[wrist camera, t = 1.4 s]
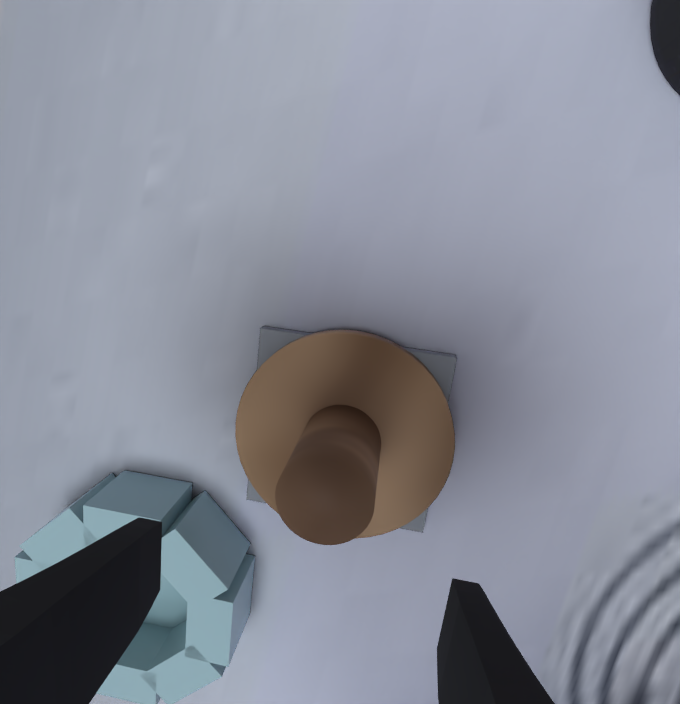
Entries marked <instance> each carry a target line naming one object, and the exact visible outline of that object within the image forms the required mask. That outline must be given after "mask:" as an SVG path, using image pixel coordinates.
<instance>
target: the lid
mask: <svg viewBox="0 0 680 704" xmlns="http://www.w3.org/2000/svg"><path fill="white" fill-rule="evenodd" d="M236 443H237V450H238V454H239V457H240V461H241V464H242V466H243V469H244V471H245V473H246V475H247V477H248V479H249V481H250V482H251V484H252V486H253V487H254V488H255V490H256V491H257V492H258V494H259V495H260V496H261V498H262V499H263V500H264V501H265V502H266V503H267V504H268V505H269V506H270V507H271V508H273V509H274V510H275V511H276V512H277V513H278V514H279V515H280V517H281V518H282V520H283V521H284V523H285V524H286V525H287V526H288V528H289V529H290V530H292V531H293V532H294V533H295V534H297V535H298V536H300V537H301V538H303V539H305V540H307V541H310V542H313V543H317V544H323V545H336V544H341V543H345V542H348V541H350V540H352V539H354V538H365V537H372V536H376V535H381V534H384V533H387V532H390V531H393V530H396V529H398V528H400V527H402V526H404V525H406V524H408V523H409V522H411V521H412V520H413V519H415V518H416V517H418V516H419V515H420V514H421V513H423V512H424V511H425V510H426V509H427V508H428V507H429V506H430V505H431V504H432V502H433V501H434V500H435V499H436V498H437V496H438V495H439V493H440V491H441V490H442V488H443V487H444V485H445V483H446V480H447V478H448V476H449V473H450V470H451V466H452V463H453V457H454V450H455V433H454V427H453V421H452V416H451V413H450V409H449V406H448V403H447V400H446V397H445V395H444V393H443V391H442V389H441V387H440V385H439V384H438V382H437V381H436V379H435V377H434V376H433V374H432V373H431V372H430V371H429V370H428V369H427V367H426V366H425V365H424V364H423V363H422V362H421V361H420V360H419V359H417V358H416V357H415V356H414V355H413V354H412V353H410V352H409V351H407V350H406V349H404V348H403V347H401V346H400V345H398V344H396V343H394V342H392V341H390V340H388V339H386V338H383V337H380V336H377V335H375V334H371V333H367V332H362V331H356V330H327V331H322V332H316V333H313V334H309V335H306V336H303V337H301V338H299V339H297V340H294V341H292V342H290V343H288V344H287V345H285V346H284V347H282V348H281V349H279V350H278V351H277V352H276V353H274V354H273V355H272V356H271V357H270V358H269V359H268V360H267V361H265V362H264V363H263V364H262V365H261V367H260V368H259V369H258V370H257V371H256V372H255V374H254V375H253V376H252V378H251V380H250V381H249V383H248V384H247V386H246V388H245V390H244V392H243V395H242V397H241V400H240V403H239V407H238V410H237V417H236Z"/></svg>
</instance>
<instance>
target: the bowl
mask: <svg viewBox="0 0 680 704" xmlns="http://www.w3.org/2000/svg"><path fill="white" fill-rule="evenodd" d="M139 517H140V518H145V519H151V520H156V521H161V522H162V546H161V583H160V591H159V593H158V595H157V597H156V599H155V601H154V603H153V605H152V607H151V609H150V611H149V613H148V615H147V616H146V618H145V620H144V622H143V624H142V626H141V627H140V629H139V631H138V633H137V634H136V636H135V637H134V639H133V640H132V642H131V643H130V644H129V646H128V647H127V649H126V650H125V652H124V653H123V655H122V656H121V658H120V659H119V661H118V662H117V664H116V665H115V666H114V668H113V669H112V671H111V672H110V674H109V675H108V677H107V678H106V680H105V681H104V682H103V684H102V685H101V687H100V688H99V690H98V691H97V694H101V695H105V696H110V697H114V698H118V699H122V700H126V701H131V702H135V703H139V704H158V702H159V700H160V698H162V699H163V701H164V702H165V703H166V704H173V703H175V702H177V701H179V700H181V699H182V698H184V697H186V696H188V695H190V694H191V693H193V692H195V691H197V690H199V689H200V688H202V687H204V686H206V685H208V684H210V683H211V682H213V681H215V680H217V679H219V678H220V677H222V675H223V672H224V670H225V668H226V666H227V667H228V666H229V664H230V661H231V659H232V656H233V654H234V652H235V649H236V647H237V644H238V642H239V639H240V637H241V634H242V632H243V629H244V627H245V624H246V622H247V619H248V617H249V615H250V607H251V596H252V585H253V573H254V562H255V556H253V555H248V554H246V552H247V550H248V548H249V546H250V544H251V543H250V542H249V541H248V540H247V539H246V538H245V536H244V535H243V534H242V533H241V532H240V531H239V529H238V528H237V527H236V526H235V525H234V523H233V522H232V521H231V520H230V519H229V518H228V516H227V515H226V514H225V513H224V512H223V511H222V509H221V508H220V507H219V506H218V505H217V504H216V502H215V501H214V500H213V499H212V498H211V497H210V495H209V494H208V493H207V492H206V491H203V492H202V493H201V494H199V495H198V496H196V497H195V498H193V499H192V483H190V482H185V481H179V480H174V479H169V478H163V477H158V476H153V475H147V474H142V473H136V472H131V471H126V470H124V471H123V472H122V473H121V474H119V475H118V476H117V477H115V476H114V474H113V473H111V474H110V475H109V476H107V477H106V478H105V479H103V480H102V481H101V482H100V483H98V484H97V485H96V486H94V487H93V488H92V489H90V490H89V491H88V492H86V493H85V494H84V495H83V496H81V497H80V498H79V499H77V500H76V501H75V502H73V503H72V504H71V505H70V506H68V507H67V508H66V509H64V510H63V511H62V512H61V513H60V514H58V515H57V516H56V517H55V518H53V519H52V520H51V521H50V522H48V523H47V524H46V525H45V526H43V527H42V528H41V529H40V530H39V531H37V532H36V533H35V534H34V535H32V536H31V537H30V538H29V539H27V540H26V541H25V542H24V543H23V544H21V545H20V547H21V548H22V549H23V551H22V552H20V553H19V554H18V555H17V556H15V569H16V584H17V583H19V582H21V581H23V580H25V579H27V578H29V577H31V576H33V575H35V574H36V573H38V572H40V571H42V570H44V569H46V568H48V567H50V566H52V565H54V564H56V563H58V562H60V561H62V560H63V559H65V558H67V557H69V556H71V555H72V554H74V553H76V552H78V551H80V550H81V549H83V548H85V547H87V546H89V545H90V544H92V543H94V542H96V541H97V540H99V539H101V538H103V537H104V536H106V535H108V534H110V533H111V532H113V531H115V530H117V529H118V528H120V527H122V526H124V525H126V524H127V523H129V522H131V521H133V520H135V519H137V518H139Z"/></svg>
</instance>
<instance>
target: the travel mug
mask: <svg viewBox="0 0 680 704" xmlns="http://www.w3.org/2000/svg"><path fill="white" fill-rule="evenodd" d="M651 36H652V43H653V48H654V52H655V56H656V58H657V61H658V64H659V66H660V68H661V70H662V72H663V74H664V76H665V77H666V79H667V81H668V82H669V83H670V84H671V86H672V87H673V88H674V89H675V90H676V91H677V92H678V93H679V94H680V0H653V2H652V8H651Z"/></svg>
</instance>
